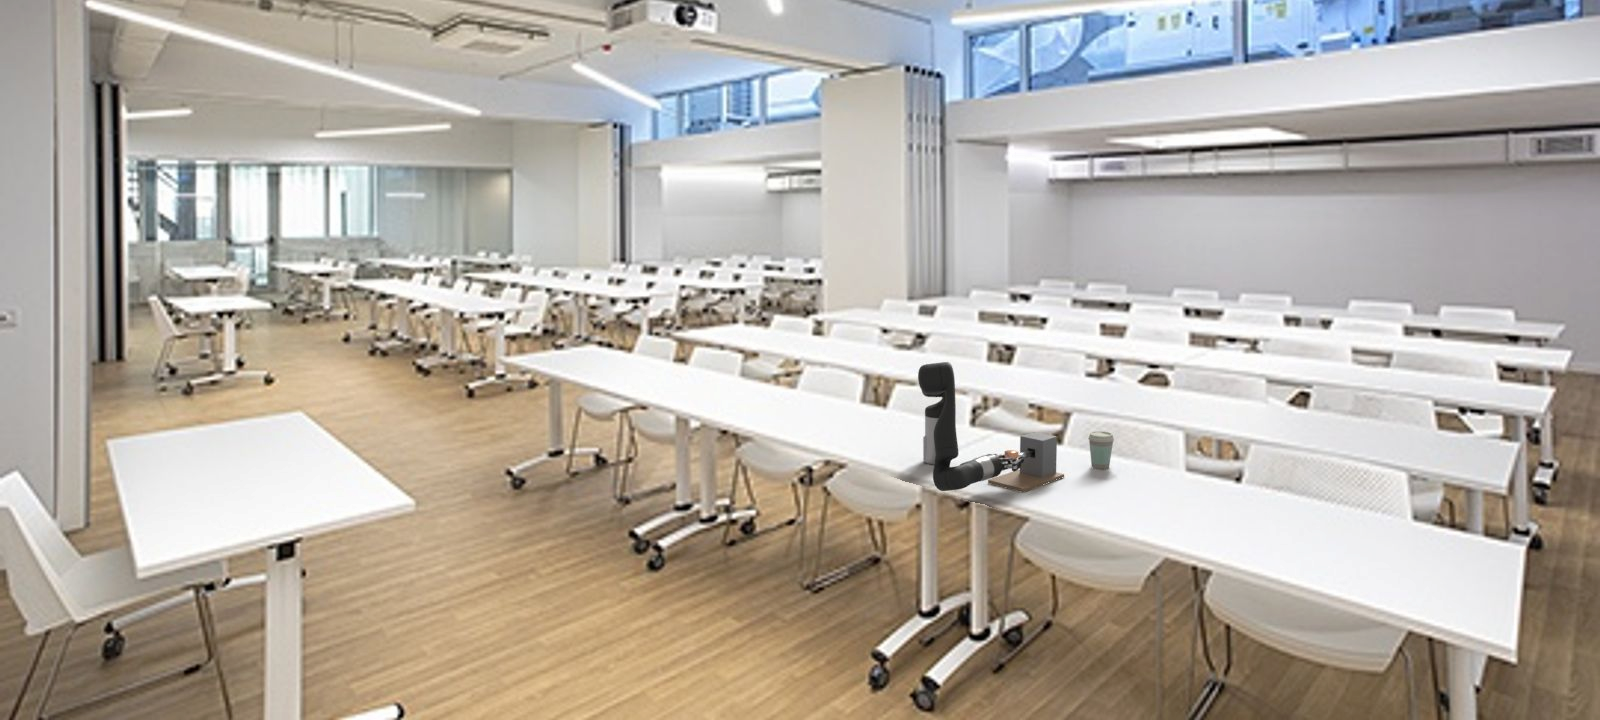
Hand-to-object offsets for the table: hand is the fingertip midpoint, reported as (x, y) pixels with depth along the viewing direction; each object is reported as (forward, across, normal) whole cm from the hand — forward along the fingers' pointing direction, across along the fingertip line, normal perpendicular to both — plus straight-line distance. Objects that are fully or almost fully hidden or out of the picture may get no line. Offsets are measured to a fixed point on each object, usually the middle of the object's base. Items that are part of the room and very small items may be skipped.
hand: (1016, 457), depth 298 cm
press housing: (+6, 0, +9) cm, 11 cm away
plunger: (+2, 0, +2) cm, 3 cm away
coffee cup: (+37, -9, +9) cm, 39 cm away
